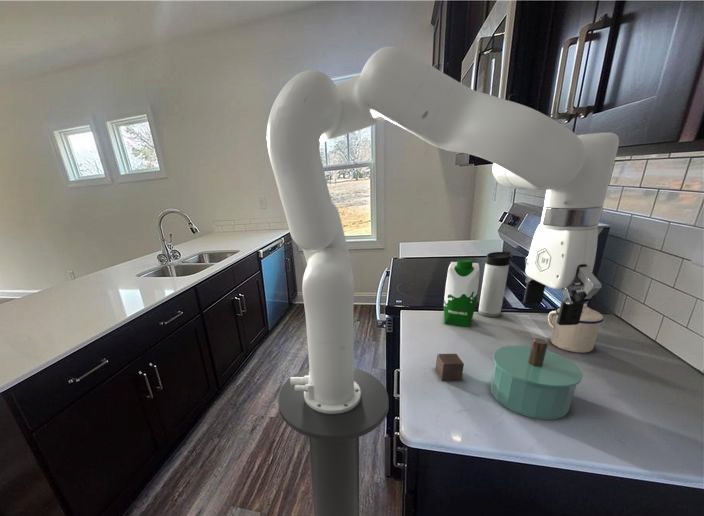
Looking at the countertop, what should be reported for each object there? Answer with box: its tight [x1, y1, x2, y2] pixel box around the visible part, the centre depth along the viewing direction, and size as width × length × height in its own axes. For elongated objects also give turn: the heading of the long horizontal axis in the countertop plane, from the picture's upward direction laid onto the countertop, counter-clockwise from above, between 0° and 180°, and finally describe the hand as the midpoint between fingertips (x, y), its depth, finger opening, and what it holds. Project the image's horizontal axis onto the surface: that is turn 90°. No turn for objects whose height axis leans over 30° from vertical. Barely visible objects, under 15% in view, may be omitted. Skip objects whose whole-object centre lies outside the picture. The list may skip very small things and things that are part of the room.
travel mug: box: [477, 250, 511, 318], centre depth 99 cm, size 6×7×20 cm
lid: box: [492, 337, 584, 388], centre depth 61 cm, size 14×14×6 cm
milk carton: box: [443, 258, 481, 328], centre depth 96 cm, size 9×9×20 cm
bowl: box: [490, 363, 577, 421], centre depth 64 cm, size 13×13×8 cm
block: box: [435, 353, 465, 382], centre depth 73 cm, size 4×4×4 cm
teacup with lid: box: [547, 303, 604, 354], centre depth 81 cm, size 12×9×12 cm
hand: (548, 312), depth 58 cm, fingers open, 9 cm apart
